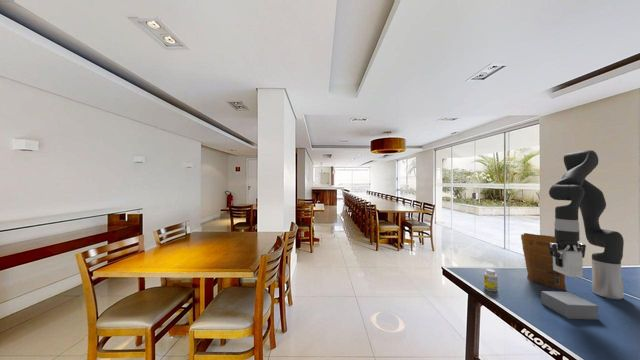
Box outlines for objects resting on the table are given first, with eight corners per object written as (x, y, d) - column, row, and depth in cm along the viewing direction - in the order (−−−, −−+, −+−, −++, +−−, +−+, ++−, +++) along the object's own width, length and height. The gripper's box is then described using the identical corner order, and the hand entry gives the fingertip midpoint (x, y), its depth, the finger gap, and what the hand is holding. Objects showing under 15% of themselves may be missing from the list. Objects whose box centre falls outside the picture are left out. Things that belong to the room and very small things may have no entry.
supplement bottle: (484, 286, 123) (484, 267, 123) (497, 289, 120) (497, 270, 120) (484, 289, 119) (483, 270, 119) (497, 292, 115) (497, 273, 116)
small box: (583, 277, 95) (583, 253, 95) (567, 276, 96) (567, 252, 96) (566, 270, 103) (566, 247, 103) (552, 269, 104) (552, 247, 104)
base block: (567, 304, 105) (567, 291, 105) (598, 320, 93) (598, 305, 93) (541, 303, 106) (541, 291, 106) (568, 319, 94) (568, 304, 94)
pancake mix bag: (566, 293, 116) (566, 239, 116) (520, 279, 133) (520, 231, 133) (571, 290, 119) (571, 237, 119) (526, 276, 136) (525, 230, 136)
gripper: (574, 227, 103) (574, 264, 103) (541, 227, 104) (542, 263, 104) (593, 231, 96) (593, 270, 96) (558, 230, 97) (558, 269, 96)
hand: (567, 266), depth 100 cm, fingers closed on small box, 6 cm apart
